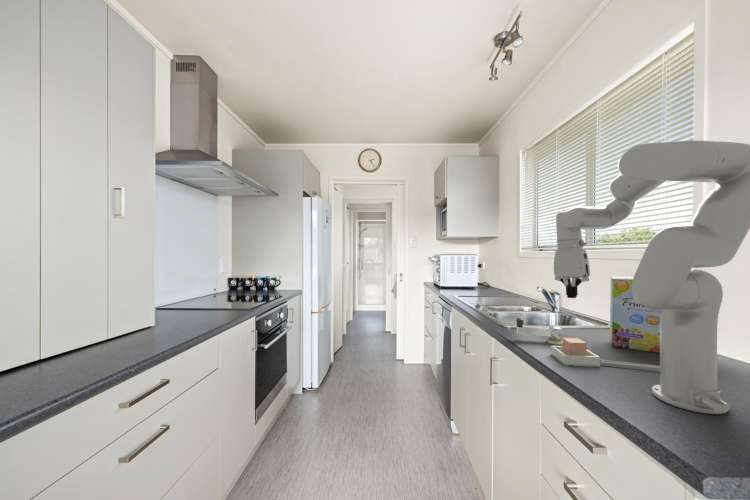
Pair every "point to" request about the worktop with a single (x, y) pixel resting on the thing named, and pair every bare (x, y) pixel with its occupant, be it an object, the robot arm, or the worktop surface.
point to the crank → (539, 330)
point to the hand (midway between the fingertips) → (572, 297)
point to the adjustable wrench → (630, 365)
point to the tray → (575, 358)
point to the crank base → (553, 342)
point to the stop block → (574, 347)
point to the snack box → (632, 319)
